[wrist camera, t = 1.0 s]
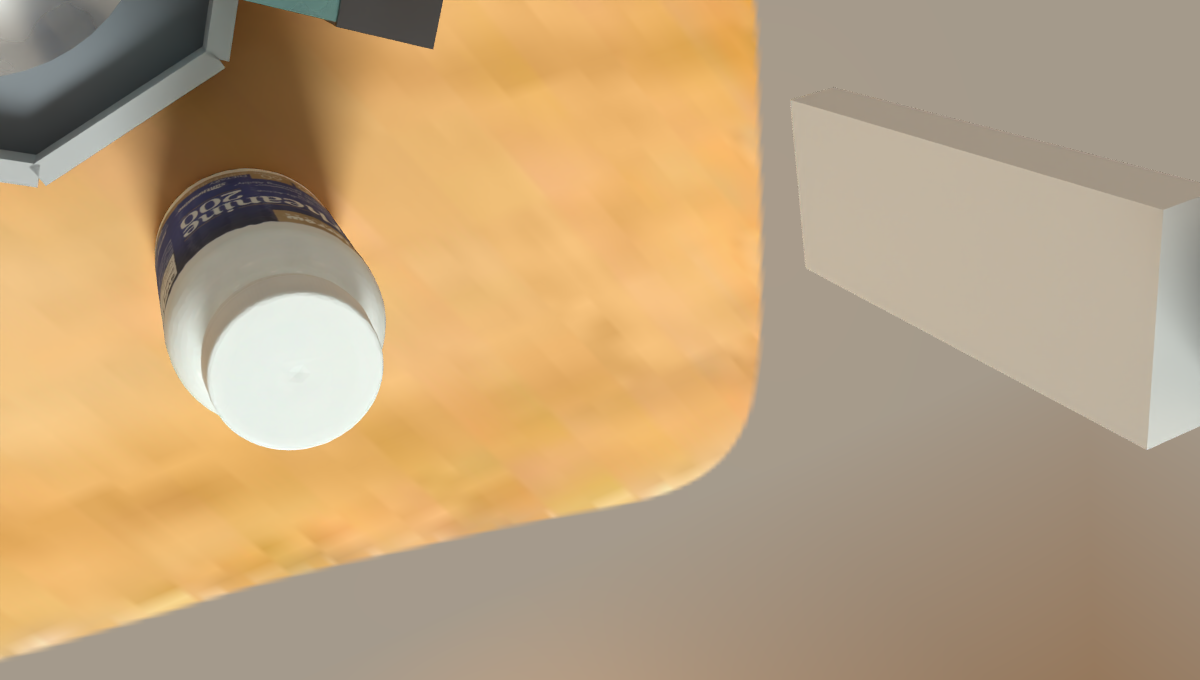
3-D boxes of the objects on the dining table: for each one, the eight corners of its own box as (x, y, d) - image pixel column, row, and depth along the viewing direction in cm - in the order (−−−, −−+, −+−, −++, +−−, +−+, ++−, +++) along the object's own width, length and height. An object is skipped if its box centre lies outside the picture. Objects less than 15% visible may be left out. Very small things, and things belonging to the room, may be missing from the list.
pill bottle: (336, 163, 33) (417, 255, 24) (337, 326, 35) (412, 463, 26) (145, 164, 30) (163, 265, 22) (158, 339, 32) (179, 491, 24)
